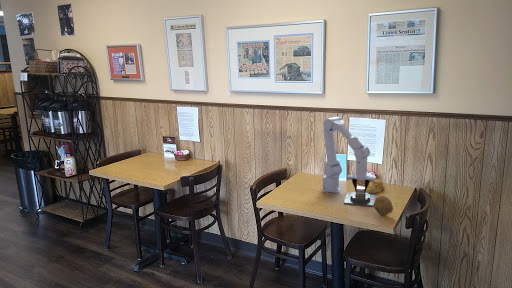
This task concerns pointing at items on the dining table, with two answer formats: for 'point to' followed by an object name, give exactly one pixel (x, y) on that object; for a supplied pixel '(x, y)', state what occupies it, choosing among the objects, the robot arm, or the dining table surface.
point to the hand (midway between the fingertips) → (360, 192)
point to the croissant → (374, 186)
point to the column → (360, 191)
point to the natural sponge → (383, 205)
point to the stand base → (360, 199)
